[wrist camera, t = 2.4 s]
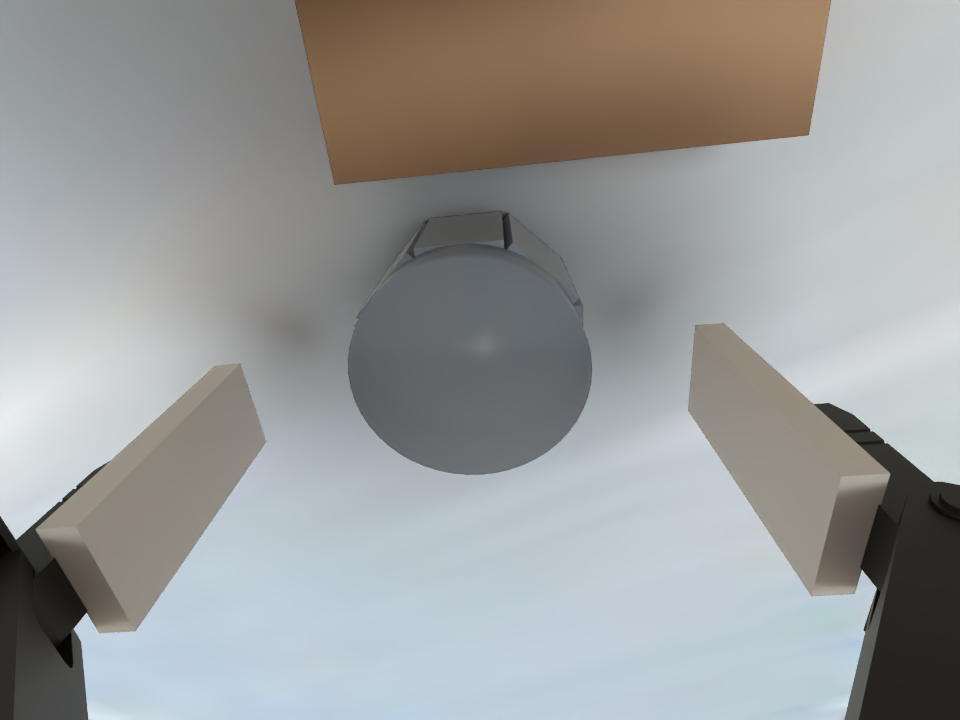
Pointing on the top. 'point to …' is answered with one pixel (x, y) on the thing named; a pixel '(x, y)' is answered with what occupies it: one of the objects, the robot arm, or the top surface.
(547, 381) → the cap
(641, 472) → the top surface
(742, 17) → the block
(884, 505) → the robot arm
